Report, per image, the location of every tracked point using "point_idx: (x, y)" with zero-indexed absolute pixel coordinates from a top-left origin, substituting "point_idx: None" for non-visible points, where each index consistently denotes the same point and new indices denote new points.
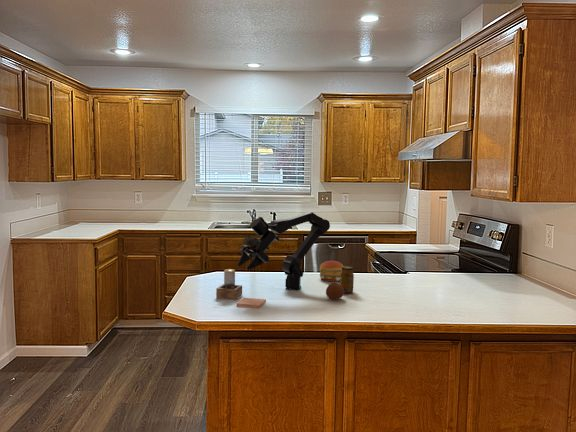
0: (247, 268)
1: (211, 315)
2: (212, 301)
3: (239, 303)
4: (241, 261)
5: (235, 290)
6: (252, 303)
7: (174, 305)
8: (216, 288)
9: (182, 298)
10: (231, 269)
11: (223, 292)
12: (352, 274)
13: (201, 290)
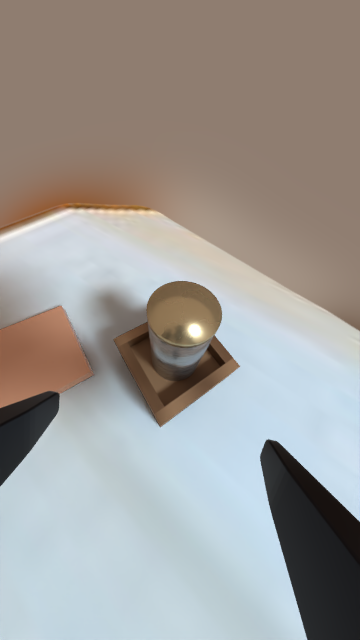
0: (44, 394)
1: (67, 235)
2: None
3: (50, 310)
4: (301, 521)
5: (115, 339)
6: (5, 340)
7: (189, 233)
8: None
9: (235, 267)
10: (201, 334)
11: None
12: None
13: (304, 347)
